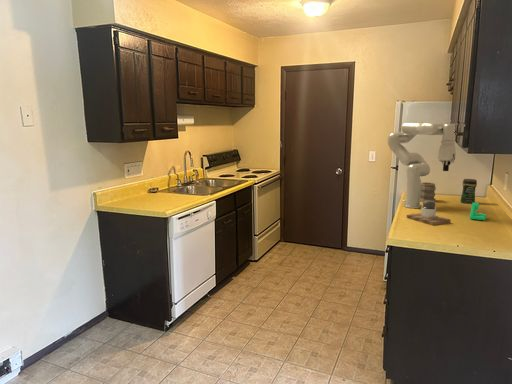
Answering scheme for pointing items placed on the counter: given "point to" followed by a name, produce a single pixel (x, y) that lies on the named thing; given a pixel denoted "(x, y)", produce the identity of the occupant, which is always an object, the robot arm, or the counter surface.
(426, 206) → the grey sphere
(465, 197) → the coffee jar
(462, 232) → the counter surface
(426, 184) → the tankard
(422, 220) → the pipe flange plate
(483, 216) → the camera mount
